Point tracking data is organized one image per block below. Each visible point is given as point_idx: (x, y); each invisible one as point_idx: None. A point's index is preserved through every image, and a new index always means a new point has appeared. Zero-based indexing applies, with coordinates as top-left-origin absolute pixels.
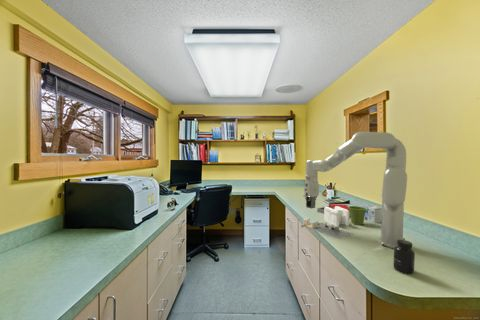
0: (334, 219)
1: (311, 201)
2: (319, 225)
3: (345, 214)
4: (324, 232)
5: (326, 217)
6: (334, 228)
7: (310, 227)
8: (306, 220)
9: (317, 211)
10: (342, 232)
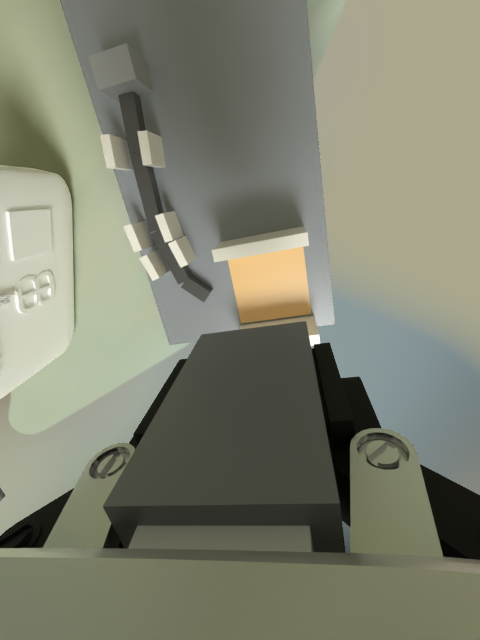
0: (27, 210)
1: (320, 400)
2: (195, 256)
3: None
4: (286, 78)
5: (48, 330)
6: (135, 102)
7: (303, 250)
8: None
9: (3, 496)
10: (110, 8)
